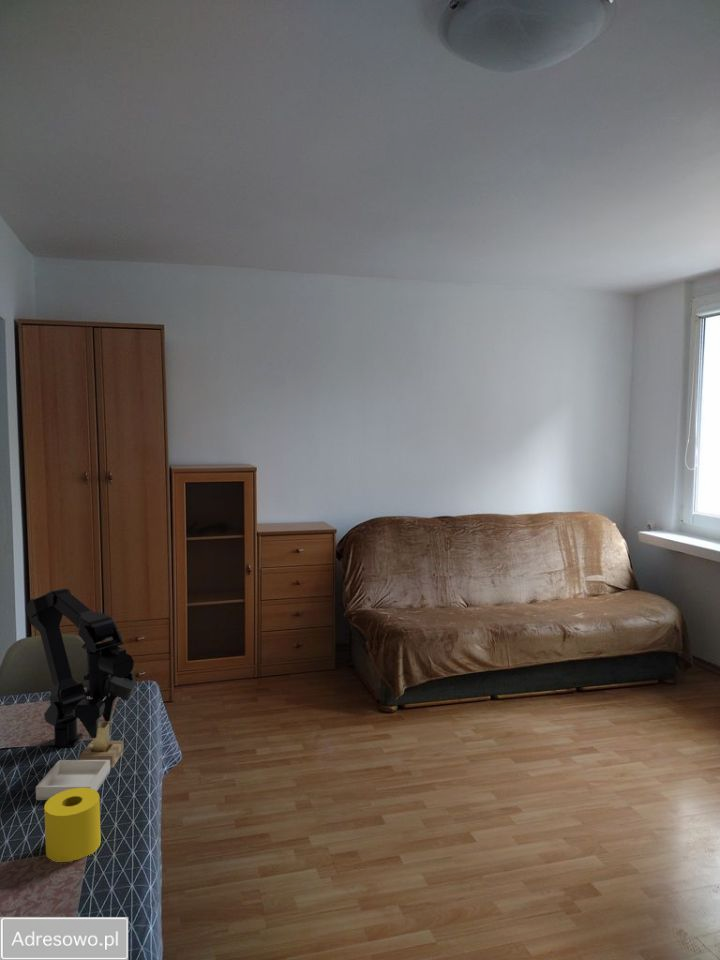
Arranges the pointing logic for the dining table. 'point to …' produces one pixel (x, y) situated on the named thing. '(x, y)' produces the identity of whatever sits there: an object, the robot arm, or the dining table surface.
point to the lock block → (104, 753)
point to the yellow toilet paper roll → (72, 824)
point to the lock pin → (102, 738)
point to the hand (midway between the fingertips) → (100, 729)
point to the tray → (73, 777)
